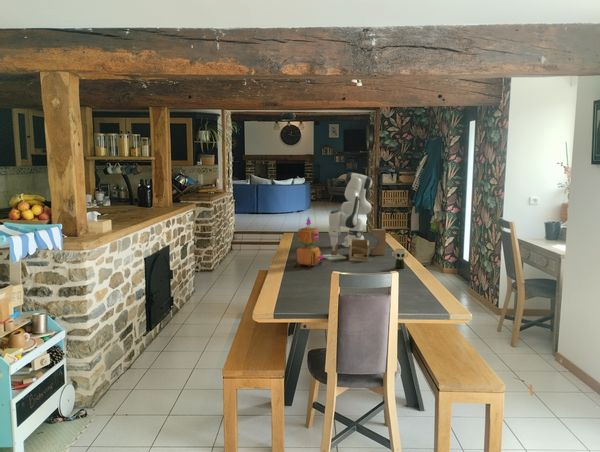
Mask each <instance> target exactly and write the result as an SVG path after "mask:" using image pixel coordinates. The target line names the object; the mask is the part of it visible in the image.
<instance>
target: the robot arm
mask: <svg viewBox="0 0 600 452" xmlns="http://www.w3.org/2000/svg"><path fill="white" fill-rule="evenodd" d="M344 182H345V184H346V188H345V191H344V197H345V200H346V201H343V203H342V204H341V205H340V206H341V208H340V209H341V212H342V213H341V212H340V210H338V209H337V210H336V209H335V210H330V212H329V214H328V215H329V216H328V224H329V226H328V235H329V238H330V239H329V240H330V247H331V246H333V251H335V246H336V244H337V243H338V238H339V236H340V235H341V228H348V229H349V230H348V233H347V235H346V236H345V238H344V239H343V241H344V242H342V243H341V245H342V246H343V247H345V248H349V243H350V239H362V240H365V237H364V236H363V233H364V232H363V231H364V230H363V220H362V219H360V218H358V217H359V215H366V214H367V215H368V214H370V212H371V211H372V204H371V203H370V202H369V201H368V200H367V198H366V192H367V190H369V189H371V187H372V185H373V179H372V177H371V176H367V175H366V174H365V175H364V174H361V173H356V172H352V171H351V172H347V173H346V175H345V177H344Z"/></svg>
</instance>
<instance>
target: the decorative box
mask: <svg viewBox="0 0 600 452" xmlns="http://www.w3.org/2000/svg"><path fill="white" fill-rule="evenodd" d="M305 224H306V227H302V228H299V229H298V232H297V233H298V234H297V238H298V239H297V240H298V243H300V244H303V246H300V247H298V248H297V249H296V253H295V254H296V260H295V261H296V262H295V264H294V265H293V268H294V269H295V268H296V267H297V265H303V266H304V265H305V266H307V270H310V269H311V266H313V265H316V264H319V265H322V264H323V263H322V261H321V259H322V260H323V259H324V257H322V255H321V250H320V248H319V247H318V246H315V245H314V243H317V242H318V240H320V238H319V235H320V233H319V230H318V228H316V227H310V225H311V224H312V222H311V218H310V217H309V216H308V217H307V219H306V223H305Z"/></svg>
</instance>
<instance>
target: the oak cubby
mask: <svg viewBox="0 0 600 452" xmlns="http://www.w3.org/2000/svg"><path fill="white" fill-rule="evenodd" d="M369 255H370V239H364V240H362V239H350V243H349V247H348V261H350V262H369V260H370V259H369V257H370V256H369Z"/></svg>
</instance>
